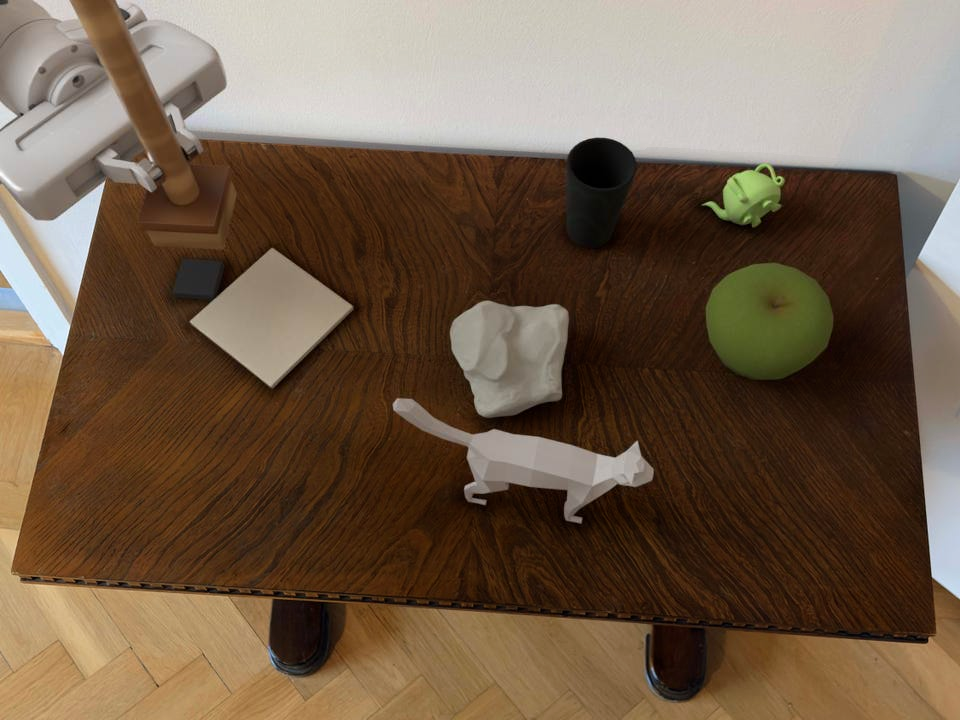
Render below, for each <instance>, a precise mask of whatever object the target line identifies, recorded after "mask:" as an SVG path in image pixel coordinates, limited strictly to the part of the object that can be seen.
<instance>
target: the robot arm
mask: <svg viewBox="0 0 960 720" xmlns="http://www.w3.org/2000/svg"><path fill="white" fill-rule="evenodd" d="M118 6H119V9H120V11H121V13H122V15H123V18H124V20H125V22H126V24H127V27H128V29H129V31H130V33H131V36H132V38H133V40H134V42H135V45H136V47H137V49H138V51H139V54H140V56H141V58H142V60H143V63H144V65H145V67H146V69H147V72H148V74H149V76H150V78H151V81H152V83H153V85H154V88H155V90H156V92H157V94H158V97H159V99H160V101H161V103H162V106H163V108H164V110H165V112H166V115H167V117H168V119H169V121H170V124H171V126H172V128H173V130H174V133H175V135H176V137H177V139H178V142H179V144H180V146H181V148H182V151H183V153H184V155H185V157H186V160H187V162H188V163H190V162H192V161H193V160H195V159H196V158H197V157H199V156H200V155H201V154H203V152H204V148H203V146H202V143H201V140H200V139H199V138H198V137H197V136H196V135H195V134H194V133H192V132H191V131H190V130H188V127H187V124H186V122H185V120H187V119H188V118H189V117H190V116H192V115H193V114H194V113H196V112H197V111H198V110H200V109H201V108H202V107H203V106H205V105H206V104H207V103H208V102H210V101H211V100H212V99H214V98H215V97H216V96H217V95H219V94H221V92H223V91H224V90H226V88H227V87H228V85H227V84H228V83H227V82H228V81H227V73H226V69H225V66H224V63H223V61H222V58H221V56H220V53H219V52H218V51H217V49H216V48H215V47H214V46H213V45H211V44H210V43H209V42H207V40H205V39H202V38H201V37H199V36H197V35H196V34H194V33H192V32H191V31H189V30H187V29H185V28H183V27H181V26H179V25H177V24H175V23H173V22H170V21H167V20H164V19H148V18H147V16H146V14H145V13H144V11H143V9H141V7H140V6H138V5H137V4H135V3H132V2H125V3H121V4H118ZM0 103H2V105H3V106H4V107H5V108H7V109H8V110H9V111H11V112H12V113H13V114H14V115H16V117H14V118H13V119H11V120H10V121H8V122H7V123H6V124H5V125H3V126H2V127H1V128H0V185H3V187H4V188H5V189H6V190H7V192H8V193H9V194H10V196H11V197H12V198H13V199H14V200H15V201H16V202H17V204H18V205H19V206H20V207H21V208H22V210H24V211H25V212H26V213H27V214H28V215H29V216H30V217H31V218H33V219H34V220H36V221H45V222H51V221H54V220H56V219H58V218H59V217H60V216H62V215H63V214H64V213H66V212H67V211H68V210H69V209H70V208H72V207H74V205H76V204H77V203H79V202H80V201H81V200H83V198H85V197H86V196H88V195H89V194H90V193H91V192H93V191H94V190H95V189H96V188H98V187H99V186H101V185H102V184H103V183H104V182H106V181H107V180H111V181H112V182H113V183H118V184H130V185H131V184H133V185H138V184H139V185H140V186H141V187H143V188H144V189H146V191H147V190H149V191H150V192H153V191H154V190H155V189H157V188H158V187H159V186H160V185H161V184H163V183H164V182H165V181H166V179H165V177H163V173H162V171H161V170H160V169H159V167H158V166H156V165H155V164H152V163H151V161H150V160H149V158H148V157H144V158H142V159H141V160H140V161H137V162H135V161H133V160H134V159H135V158H137V157H139V156H140V155H141V154H142V153H143V152H145V150H144V148H143V146H142V144H141V142H140V140H139V138H138V136H137V134H136V132H135V130H134V128H133V126H132V124H131V122H130V120H129V118H128V116H127V114H126V112H125V110H124V108H123V106H122V104H121V102H120V100H119V98H118V96H117V94H116V92H115V90H114V88H113V86H112V84H111V82H110V80H109V78H108V76H107V74H106V72H105V70H104V68H103V66H102V64H101V62H100V60H99V58H98V56H97V54H96V52H95V50H94V48H93V46H92V44H91V42H90V40H89V38H88V36H87V34H86V32H85V30H84V28H83V26H82V24H81V22H80V20H79V18H78V17H77V18H72V19H67V20H60V19H58V18H54V17H52V15H51V14H50V13H49V12H48V10H46V9H45V8H44V7H43V6H41V5H40V4H39V3H38V2H37V1H34V0H0Z"/></svg>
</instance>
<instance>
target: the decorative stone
mask: <svg viewBox="0 0 960 720" xmlns="http://www.w3.org/2000/svg"><path fill="white" fill-rule="evenodd" d="M569 316H570V315H569V311H568V310H567V309H566V308H565V307H564V306H562V305H560V304H557V303H551V304H547V305H544V306H528V305H519V306H518V305H517V306H510V305H506V304H501V303H497V302H495V301H492V300H483V301H481V302H478V303H477V304H475V305H474V306H472V307H471V308H470V309H467V310H466V311H464V312H462V313H461V314H460V315H458V316H457V317H455V318H454V320H453V321H452V323H451V327H450V330H449V336H450V344H451V352H452V354H453V355H454V357H455V359H456V361H457V362H458V364H459V366H460V368H461V369H462V370H463V375H464V377H465V379H466V380H468V382H469V385H470V388H471V392H472V394H473V396H474V398H473V402H474V408H475V411H476V412H477V414H478V415H480V416H482V417H483V418H486V419H491V418H499V417H511V416H516V415H518V414H520V413H522V412H524V411H525V410H528V409H530V408H532V407H536V406H537V405H540V404H544V403H548V402H559V401H560V400H561V399H562V397H563V389H562V388H563V387H562V386H563V385H562V371H563V365H564V360H565V354H566V349H567V344H568V337H569V336H568V335H569V322H570V319H569V318H570V317H569Z"/></svg>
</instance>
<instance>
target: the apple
mask: <svg viewBox="0 0 960 720" xmlns="http://www.w3.org/2000/svg"><path fill="white" fill-rule="evenodd" d="M833 313H834V312H833V309H832V305H831V301H830V298H829V296H828V294H826V292H825V290H824V289H823V288H822V287H821V285H820V284H819V283H818V281H817V280H816V279H815V278H813V277H811V275H808V274H806V273H804V272H803V271H802V270H799V269H798V268H796V267H793V266H789V265H784V264H781V263H778V262H766V263H753V264H751V265H748V266H745V267H741V268H740V269H736V270H735V271H733V272H731V273H729V274H727V275H726V276H724V277H723V278H722V280H720V281H719V282H718V284H716V285H715V286H714V287H713V288H712V289H711V293H710V295H709V298H708V300H707V303H706V306H705V323H706V329H707V335H708V340H709V343H710V344H711V346H712V347H713V350H714V351H715V353H716V354H717V356H718V358H719V360H720V361H721V363H722V364H723V366H724V367H726V368H728V370H731V371H732V372H733V373H735V374H736V375H738V376H742V377H745V378H747V379H751V380H758V381H759V380H761V381H762V380H763V381H764V380H765V381H766V380H768V381H769V380H782V379H784V378H786V377H788V376H790V375H792V374H795V373H797V372H798V371H800V370H802V369H803V368H805V367H807V365H809V364H811V363H812V362H813V361H815V360H816V358H818V356H820V355H821V353H823V351H825V350H826V348H827V347H828V344H829V341H830V338H831V335H832V332H833V330H834V329H833V328H834V314H833Z"/></svg>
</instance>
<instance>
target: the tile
mask: <svg viewBox="0 0 960 720" xmlns="http://www.w3.org/2000/svg"><path fill="white" fill-rule="evenodd" d="M353 311H354V305H352V304H351V303H349V302H348V301H347V300H345V299H344V298H342V297H341V296H340V295H338V294H337V293H336V292H334V291H333V290H331V288H329V287H327V286H326V285H324V284H323V283H322V282H321V281H319V280H318V279H316V278H315V277H313V276H312V275H311V274H309V273H308V272H307V271H305V270H304V269H302V268H301V267H300V266H298V265H297V264H296V263H294V262H293V261H292V260H291V259H289V258H287V257H286V256H285V255H283V254H282V253H280V252H279V251H278V250H276V249H275V248H274V247H271V248H270V249H269V250H268V251H266V253H264V254H263V255H262V256H261V257H260V258H259V259H257V261H255V262H254V263H253V264H252V265H251V266H250V267H249V268H247V269H246V270H245V271H244V272H243V273H242V274H241V275H240V276H238V277H237V278H236V279H235V280H234V281H233V282H232V283H231V284H229V285H228V286H227V287H226V288H225V289H224V290H223V291H222V292H221V293H219V295H217V297H216V298H215V299H214V300H211V302H210V303H208V304H207V305H206V306H205V307H204V308H203V309H201V311H199V312H198V313H197V314H196V315H195V316H194V317H193V318H192V319H190V320H189V323H190V325H191V326H192V327H194V328H195V329H196V330H198V331H199V332H200V333H201V334H203V336H205V337H207V338H208V339H209V340H210V341H211V342H213V343H214V344H215V345H216V346H218V347H219V348H220V349H222V350H223V352H225V353H226V354H228V355H229V356H230V357H231V358H233V359H234V360H235V361H237V363H239V364H240V365H241V366H243V367H244V368H245V369H247V370H248V371H249V372H250V373H251V374H253V375H254V376H255V377H257V378H258V379H259V380H260V381H262V382H263V383H264V384H265V385H267V386H268V387H269V388H270V389H274V388H275V387H276V386H277V385H278V384H279V383H280V382H281V381H282V380H283V379H285V377H287V376H288V374H290V372H291V371H292V370H293V369H295V367H296V366H298V364H299V363H300V362H302V361H303V360H304V358H306V357H307V356H308V355H309V354H310V353H311V352H312V351H313V350H314V349H315V348H316V347H317V346H318V345H319V344H320V343H321V342H322V341H323V340H324V339H325V338H326V337H327V336H328V335H329V334H330V333H331V332H332V331H334V329H335V328H336V327H338V325H340V324H341V323H342V321H344V319H346V317H348V316H349V315H350V313H352V312H353Z"/></svg>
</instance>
